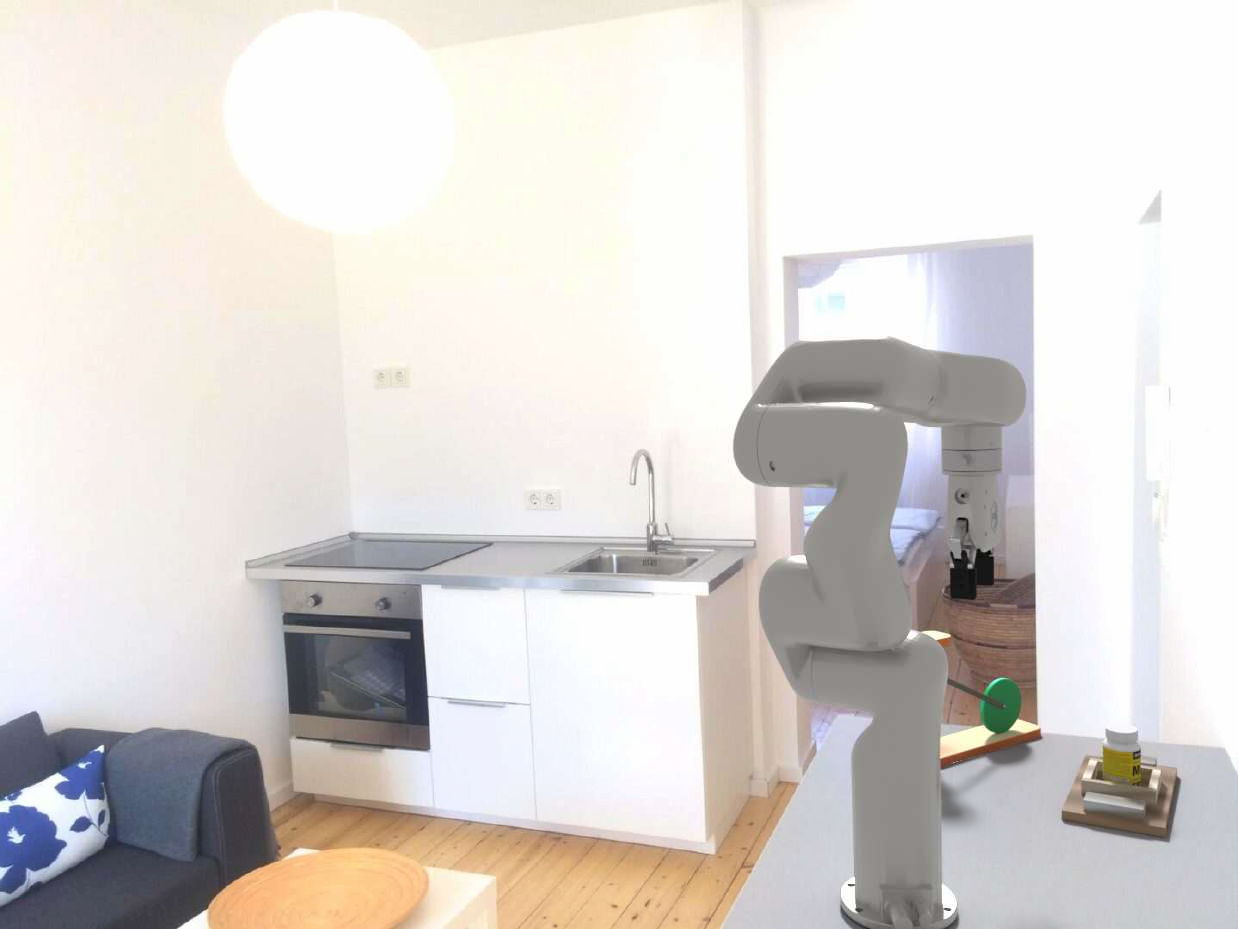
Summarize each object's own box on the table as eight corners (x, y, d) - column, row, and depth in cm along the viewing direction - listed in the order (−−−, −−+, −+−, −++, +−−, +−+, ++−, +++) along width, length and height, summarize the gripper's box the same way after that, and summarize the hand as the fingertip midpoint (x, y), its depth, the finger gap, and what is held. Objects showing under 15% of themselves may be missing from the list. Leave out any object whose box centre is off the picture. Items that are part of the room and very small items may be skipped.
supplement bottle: (1139, 797, 138) (1139, 736, 138) (1100, 791, 141) (1100, 731, 140) (1142, 784, 142) (1142, 725, 142) (1104, 778, 145) (1104, 720, 144)
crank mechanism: (932, 770, 154) (930, 643, 152) (900, 757, 160) (897, 634, 158) (1045, 735, 166) (1044, 618, 164) (1011, 724, 172) (1010, 610, 170)
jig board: (1164, 837, 129) (1164, 812, 129) (1061, 819, 136) (1061, 795, 135) (1177, 776, 148) (1177, 754, 148) (1085, 762, 154) (1085, 741, 154)
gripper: (985, 468, 126) (987, 607, 127) (1015, 457, 140) (1016, 582, 142) (923, 468, 130) (925, 602, 131) (959, 457, 144) (960, 578, 146)
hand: (972, 591), depth 136 cm, fingers open, 9 cm apart
